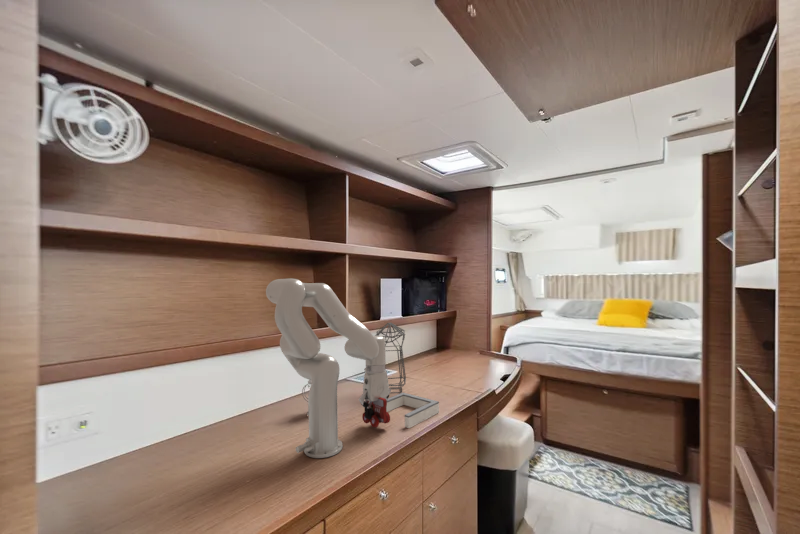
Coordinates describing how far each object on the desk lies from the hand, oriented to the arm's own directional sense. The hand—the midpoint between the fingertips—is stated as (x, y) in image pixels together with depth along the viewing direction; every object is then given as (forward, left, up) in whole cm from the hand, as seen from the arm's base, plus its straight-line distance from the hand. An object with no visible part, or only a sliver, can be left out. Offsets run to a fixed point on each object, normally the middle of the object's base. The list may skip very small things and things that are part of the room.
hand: (375, 414), depth 133 cm
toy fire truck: (0, 0, -3) cm, 3 cm away
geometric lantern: (+37, +26, -5) cm, 46 cm away
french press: (-5, +32, -5) cm, 33 cm away
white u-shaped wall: (+17, 0, -5) cm, 18 cm away
